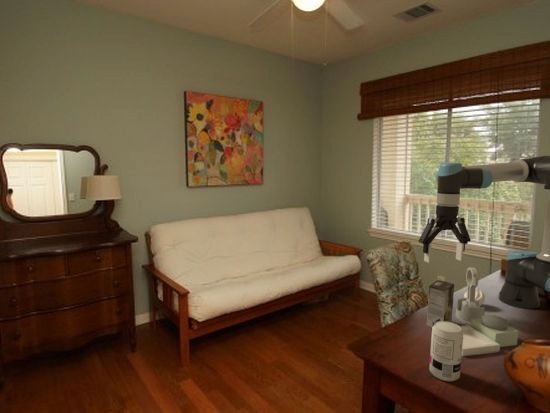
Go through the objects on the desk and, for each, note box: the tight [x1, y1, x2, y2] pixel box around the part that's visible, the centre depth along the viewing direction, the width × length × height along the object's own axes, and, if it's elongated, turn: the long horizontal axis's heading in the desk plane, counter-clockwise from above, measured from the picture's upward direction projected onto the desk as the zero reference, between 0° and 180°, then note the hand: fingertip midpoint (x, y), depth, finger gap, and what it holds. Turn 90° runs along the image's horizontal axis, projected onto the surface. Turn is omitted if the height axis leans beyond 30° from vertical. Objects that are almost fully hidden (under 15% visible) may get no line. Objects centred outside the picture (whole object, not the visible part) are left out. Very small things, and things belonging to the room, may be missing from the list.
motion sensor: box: [463, 287, 486, 307], centre depth 150 cm, size 8×8×8 cm
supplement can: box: [429, 321, 463, 382], centre depth 102 cm, size 8×8×15 cm
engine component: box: [455, 267, 486, 324], centre depth 139 cm, size 11×20×10 cm
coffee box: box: [426, 279, 455, 328], centre depth 133 cm, size 9×6×16 cm
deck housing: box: [459, 314, 519, 357], centre depth 121 cm, size 24×14×7 cm, turn 101°
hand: (443, 260), depth 131 cm, fingers open, 13 cm apart
